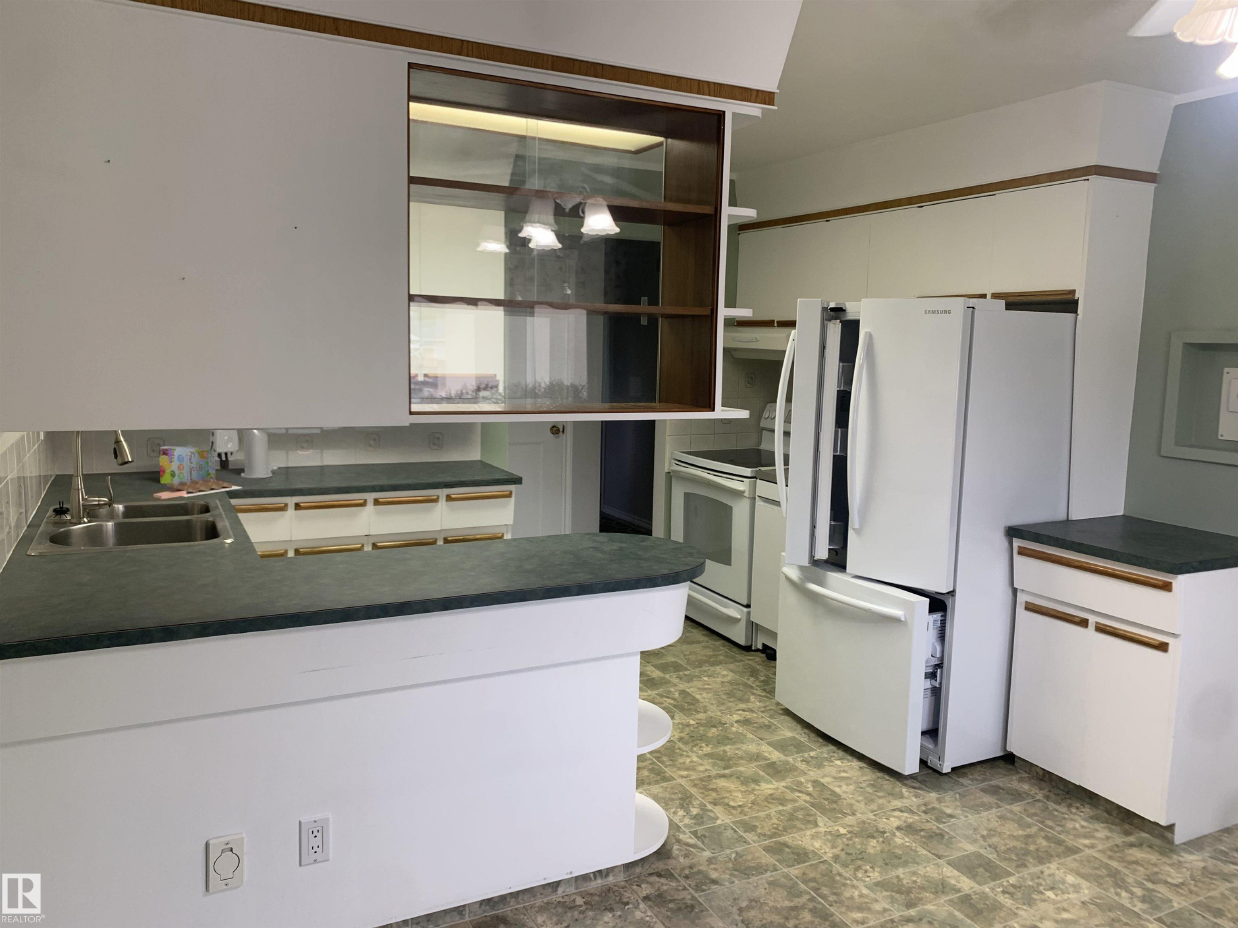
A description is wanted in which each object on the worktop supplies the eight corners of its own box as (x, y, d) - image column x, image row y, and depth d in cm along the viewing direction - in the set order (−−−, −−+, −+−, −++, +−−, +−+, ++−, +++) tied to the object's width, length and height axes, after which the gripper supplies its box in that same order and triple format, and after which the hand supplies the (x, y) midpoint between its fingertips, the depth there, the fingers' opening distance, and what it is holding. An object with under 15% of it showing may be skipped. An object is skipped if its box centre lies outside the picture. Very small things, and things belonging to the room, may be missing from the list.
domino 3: (202, 485, 348) (179, 480, 339) (210, 487, 345) (188, 482, 337) (201, 489, 347) (178, 484, 339) (209, 491, 345) (186, 486, 336)
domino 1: (177, 489, 339) (153, 494, 330) (186, 490, 336) (161, 495, 328) (178, 493, 339) (153, 498, 330) (186, 494, 337) (162, 500, 328)
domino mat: (226, 485, 360) (226, 484, 360) (243, 488, 355) (242, 487, 355) (169, 494, 339) (169, 493, 339) (185, 497, 334) (185, 496, 334)
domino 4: (213, 484, 352) (191, 479, 343) (221, 485, 349) (199, 480, 341) (212, 488, 352) (190, 483, 343) (220, 489, 349) (198, 484, 341)
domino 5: (224, 482, 356) (203, 477, 348) (232, 484, 354) (211, 479, 345) (223, 486, 356) (202, 481, 347) (231, 487, 354) (210, 483, 345)
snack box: (216, 484, 363) (215, 447, 361) (208, 486, 358) (207, 449, 355) (167, 481, 365) (166, 445, 363) (159, 483, 360) (157, 447, 357)
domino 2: (190, 487, 343) (167, 482, 335) (198, 489, 341) (175, 483, 332) (189, 491, 343) (166, 486, 334) (197, 493, 341) (174, 487, 332)
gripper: (212, 425, 342) (213, 472, 344) (245, 422, 354) (246, 467, 357) (200, 423, 345) (201, 470, 348) (233, 421, 358) (234, 465, 361)
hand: (224, 468), depth 353 cm, fingers closed
